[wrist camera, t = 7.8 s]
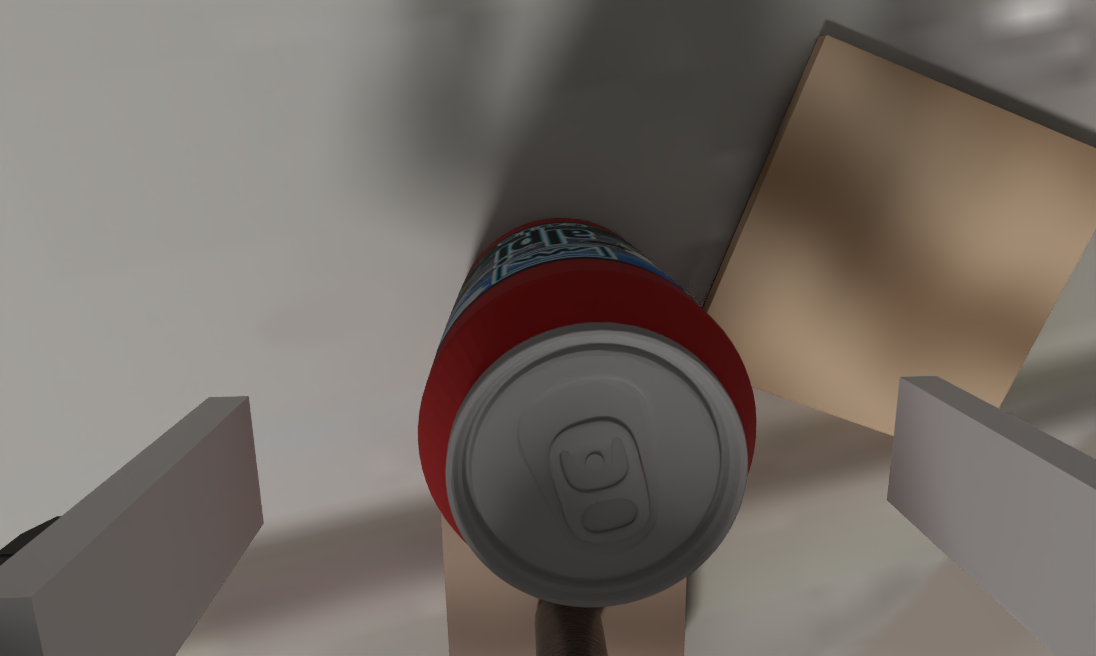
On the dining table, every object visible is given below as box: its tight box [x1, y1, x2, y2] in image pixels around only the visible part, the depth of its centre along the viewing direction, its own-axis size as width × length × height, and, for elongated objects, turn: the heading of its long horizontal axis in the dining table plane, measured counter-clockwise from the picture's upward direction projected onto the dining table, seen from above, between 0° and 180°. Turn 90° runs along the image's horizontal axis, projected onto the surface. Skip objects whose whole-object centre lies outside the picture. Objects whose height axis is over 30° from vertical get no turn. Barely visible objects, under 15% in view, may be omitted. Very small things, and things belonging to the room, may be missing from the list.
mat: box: [703, 35, 1096, 436], centre depth 24 cm, size 11×11×1 cm
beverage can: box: [418, 218, 756, 607], centre depth 18 cm, size 7×7×12 cm
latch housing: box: [441, 513, 687, 656], centre depth 25 cm, size 8×8×2 cm
